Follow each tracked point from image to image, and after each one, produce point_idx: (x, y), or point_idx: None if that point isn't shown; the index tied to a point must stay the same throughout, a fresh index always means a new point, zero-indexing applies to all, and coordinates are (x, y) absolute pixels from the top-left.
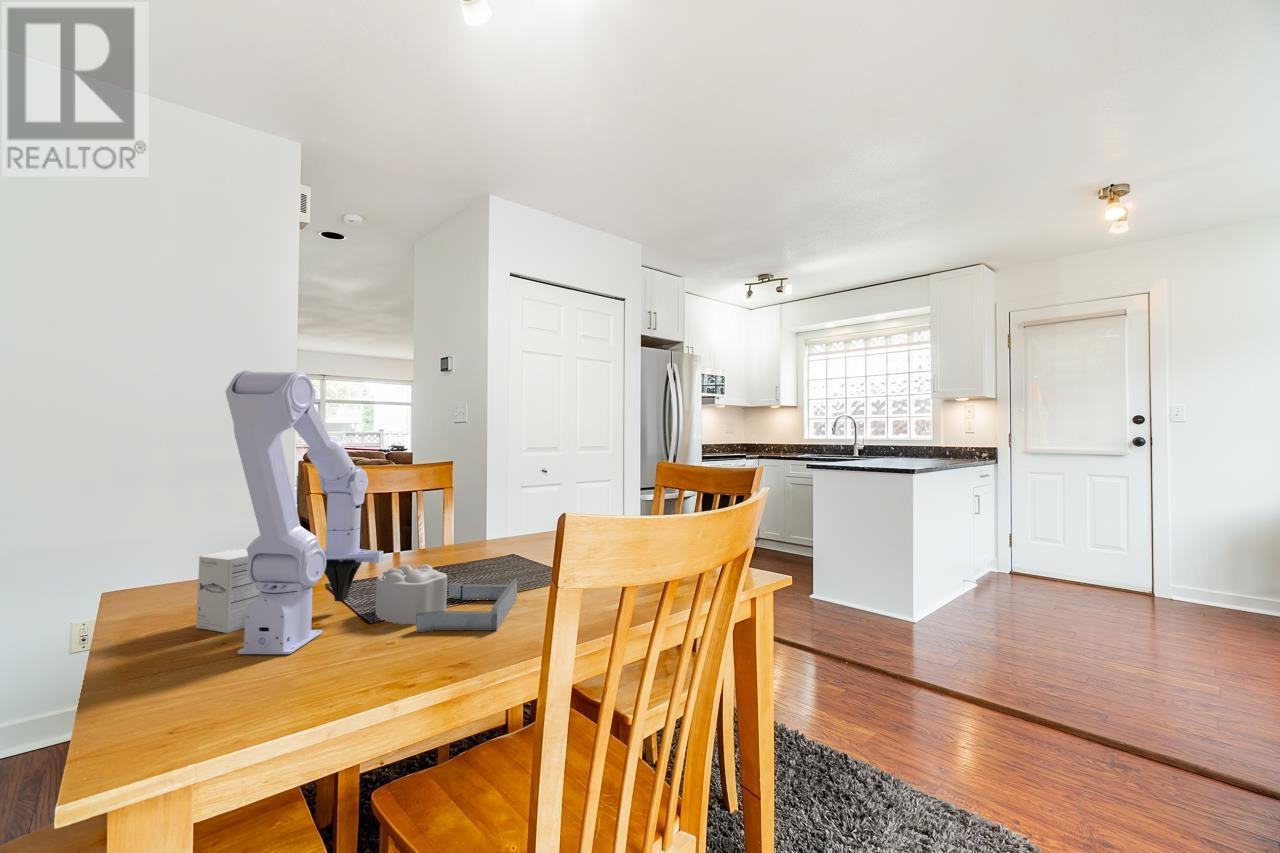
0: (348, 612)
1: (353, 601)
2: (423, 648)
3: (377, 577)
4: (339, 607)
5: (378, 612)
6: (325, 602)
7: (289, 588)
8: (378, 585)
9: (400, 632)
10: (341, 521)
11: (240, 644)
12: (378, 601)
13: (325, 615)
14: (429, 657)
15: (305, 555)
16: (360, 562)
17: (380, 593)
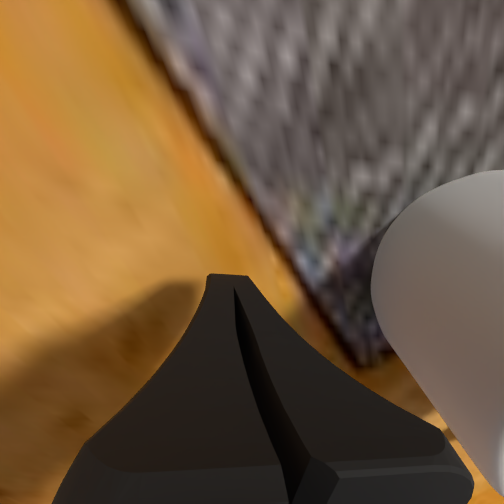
0: (255, 261)
1: (215, 50)
2: (472, 473)
3: (497, 451)
4: (179, 178)
5: (396, 352)
6: (21, 45)
7: None
8: (469, 451)
9: (440, 418)
10: None
11: (53, 491)
12: (420, 385)
13: (168, 293)
14: (473, 495)
15: None
16: (456, 500)
17: (452, 432)
